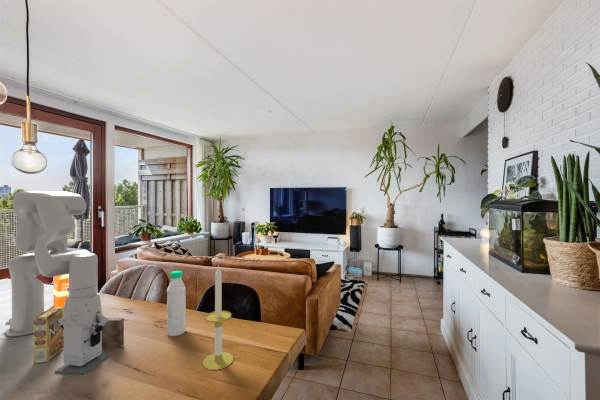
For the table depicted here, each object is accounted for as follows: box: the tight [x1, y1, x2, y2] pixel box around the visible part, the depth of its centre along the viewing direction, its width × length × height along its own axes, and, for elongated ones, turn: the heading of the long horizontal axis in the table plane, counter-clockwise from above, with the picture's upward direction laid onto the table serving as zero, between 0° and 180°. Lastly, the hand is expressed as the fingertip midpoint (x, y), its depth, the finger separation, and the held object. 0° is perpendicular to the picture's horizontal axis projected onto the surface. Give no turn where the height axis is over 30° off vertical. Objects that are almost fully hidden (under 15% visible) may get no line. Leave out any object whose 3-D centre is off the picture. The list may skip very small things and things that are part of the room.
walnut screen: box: [102, 317, 125, 349], centre depth 101 cm, size 16×2×10 cm, turn 87°
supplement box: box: [62, 319, 103, 366], centre depth 90 cm, size 7×7×13 cm
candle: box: [202, 264, 234, 371], centre depth 91 cm, size 10×10×32 cm
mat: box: [54, 353, 111, 375], centre depth 90 cm, size 10×10×1 cm
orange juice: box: [52, 274, 69, 309], centre depth 140 cm, size 8×9×20 cm
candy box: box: [33, 306, 64, 364], centre depth 94 cm, size 9×4×15 cm, turn 13°
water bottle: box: [166, 270, 187, 337], centre depth 111 cm, size 7×7×25 cm
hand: (83, 343), depth 90 cm, fingers closed on supplement box, 7 cm apart
